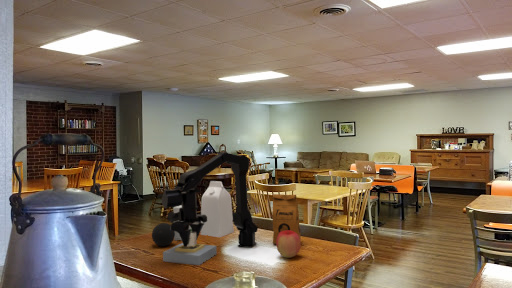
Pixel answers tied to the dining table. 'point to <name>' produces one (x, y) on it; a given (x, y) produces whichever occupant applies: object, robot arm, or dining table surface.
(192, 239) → the spout can
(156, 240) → the speaker
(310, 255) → the dining table surface
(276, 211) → the coffee package
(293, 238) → the apple
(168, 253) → the grey flat square piece
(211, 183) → the milk
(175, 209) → the skincare box
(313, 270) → the dining table surface
